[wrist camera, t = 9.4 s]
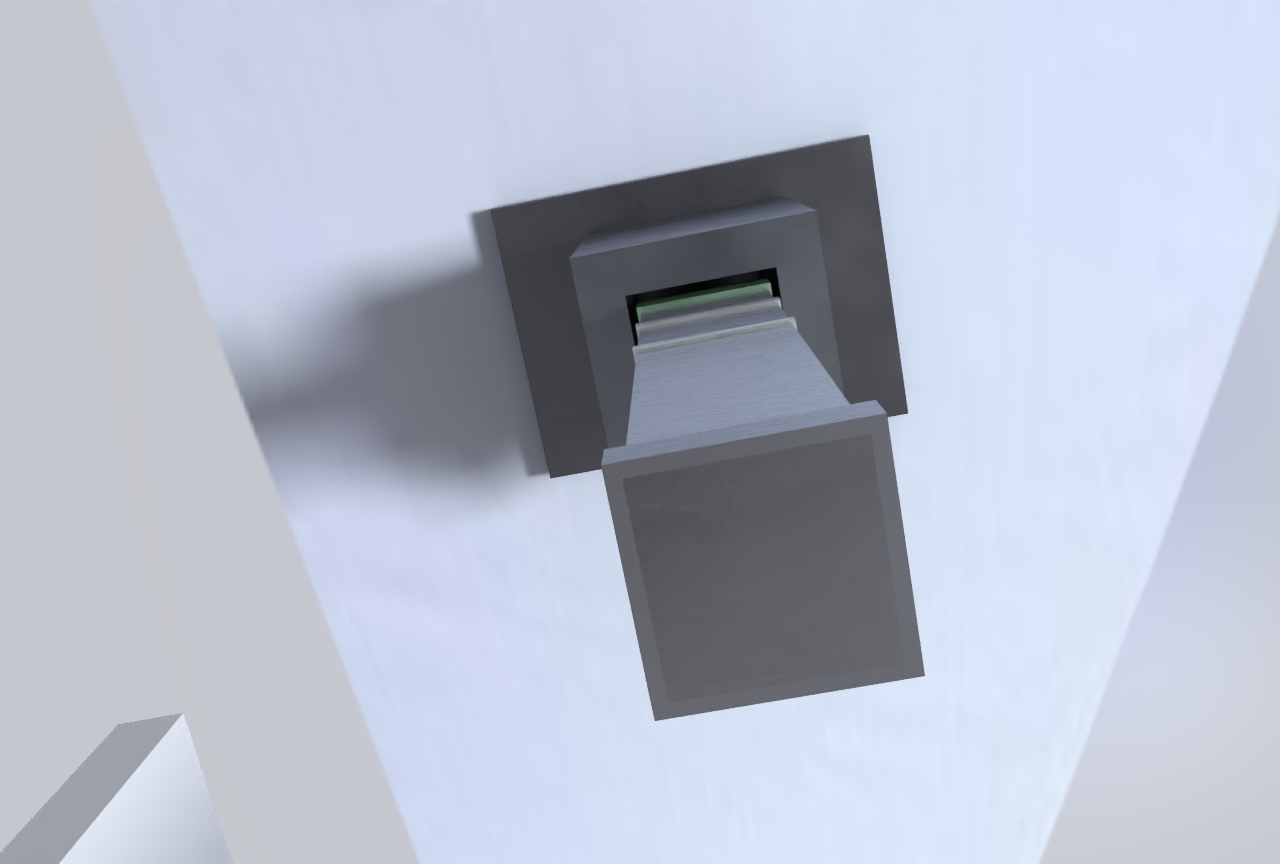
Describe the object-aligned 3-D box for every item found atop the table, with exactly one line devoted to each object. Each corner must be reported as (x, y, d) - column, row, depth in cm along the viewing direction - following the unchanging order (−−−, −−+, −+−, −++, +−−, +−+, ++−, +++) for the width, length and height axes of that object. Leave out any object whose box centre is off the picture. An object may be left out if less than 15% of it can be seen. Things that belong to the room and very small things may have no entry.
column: (632, 294, 40) (601, 464, 19) (766, 268, 40) (886, 413, 19) (658, 423, 42) (654, 720, 20) (788, 399, 41) (925, 675, 20)
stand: (494, 208, 49) (446, 227, 38) (864, 134, 48) (924, 133, 37) (552, 472, 52) (523, 559, 41) (903, 408, 51) (969, 480, 40)
